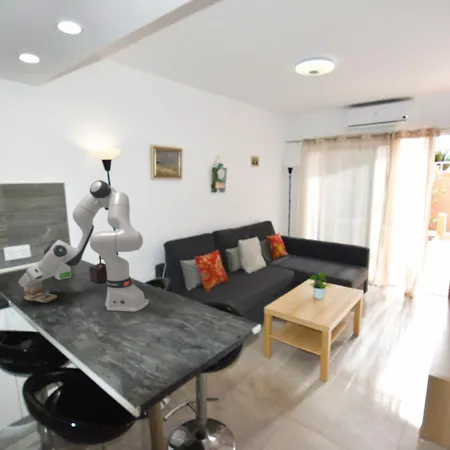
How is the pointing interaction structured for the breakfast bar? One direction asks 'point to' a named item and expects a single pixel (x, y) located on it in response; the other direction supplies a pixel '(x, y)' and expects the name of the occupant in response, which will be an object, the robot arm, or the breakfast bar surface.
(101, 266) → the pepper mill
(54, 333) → the breakfast bar surface
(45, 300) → the pin board
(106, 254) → the robot arm
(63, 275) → the skincare box
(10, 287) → the breakfast bar surface
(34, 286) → the sleeve
